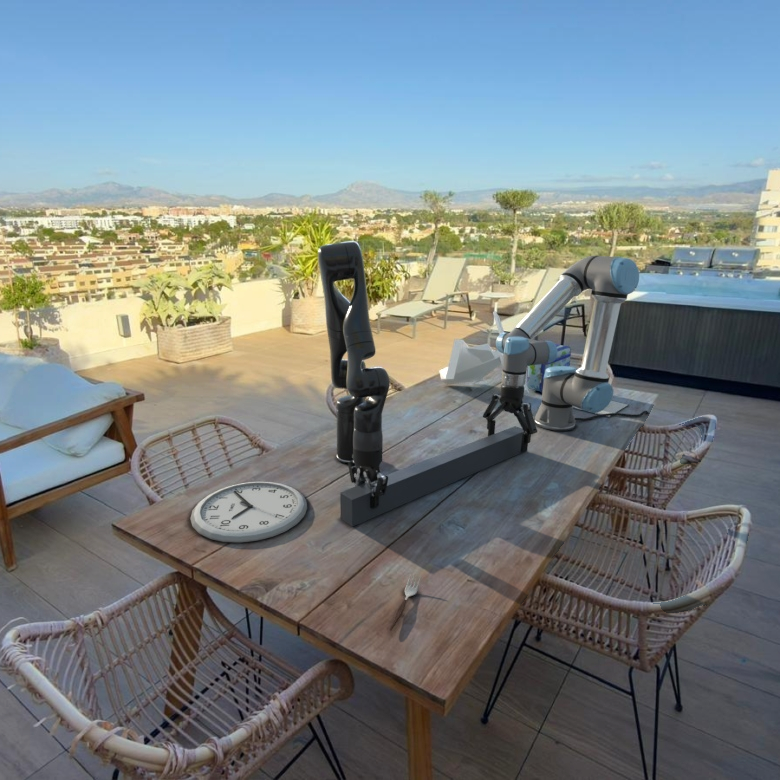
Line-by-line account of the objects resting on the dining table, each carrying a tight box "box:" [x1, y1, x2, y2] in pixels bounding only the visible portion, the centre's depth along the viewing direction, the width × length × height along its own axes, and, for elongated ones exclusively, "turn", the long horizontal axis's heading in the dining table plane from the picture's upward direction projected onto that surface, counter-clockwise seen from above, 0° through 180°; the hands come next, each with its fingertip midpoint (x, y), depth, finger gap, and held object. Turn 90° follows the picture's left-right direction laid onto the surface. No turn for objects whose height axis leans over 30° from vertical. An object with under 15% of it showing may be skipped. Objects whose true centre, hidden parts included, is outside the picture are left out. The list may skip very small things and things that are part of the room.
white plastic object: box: [438, 310, 531, 397], centre depth 245 cm, size 37×45×31 cm
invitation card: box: [573, 400, 629, 418], centre depth 226 cm, size 21×1×15 cm
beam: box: [339, 425, 524, 528], centre depth 157 cm, size 75×5×8 cm, turn 131°
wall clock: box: [190, 481, 308, 544], centre depth 139 cm, size 30×2×30 cm
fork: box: [389, 573, 422, 632], centre depth 105 cm, size 3×16×2 cm, turn 160°
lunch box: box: [526, 343, 572, 394], centre depth 248 cm, size 26×11×21 cm, turn 135°
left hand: (367, 503), depth 138 cm, fingers closed on beam, 5 cm apart
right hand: (506, 445), depth 176 cm, fingers open, 13 cm apart
